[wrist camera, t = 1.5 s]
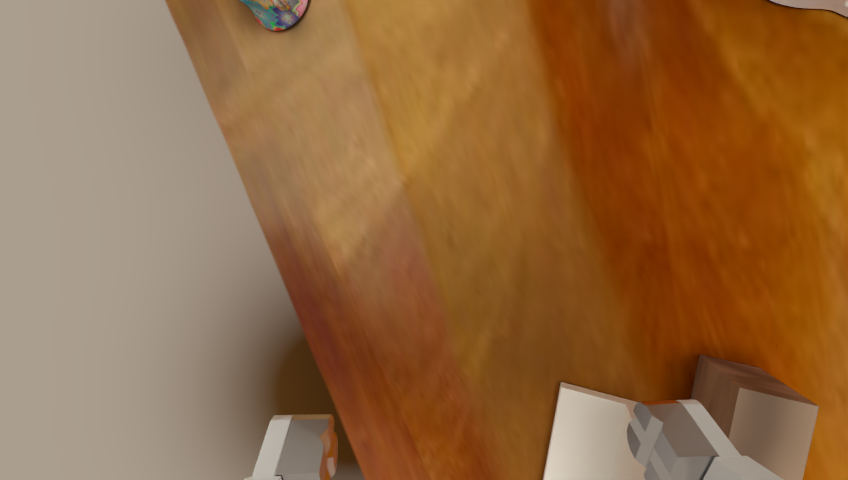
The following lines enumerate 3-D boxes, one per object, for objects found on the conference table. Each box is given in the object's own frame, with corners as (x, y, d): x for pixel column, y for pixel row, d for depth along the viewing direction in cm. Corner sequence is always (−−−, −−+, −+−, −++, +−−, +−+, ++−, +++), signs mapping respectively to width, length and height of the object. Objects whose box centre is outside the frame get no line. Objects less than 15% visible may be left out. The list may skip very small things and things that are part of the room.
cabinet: (773, 370, 37) (838, 411, 29) (759, 434, 38) (819, 492, 29) (699, 354, 39) (739, 387, 31) (687, 415, 39) (722, 464, 31)
